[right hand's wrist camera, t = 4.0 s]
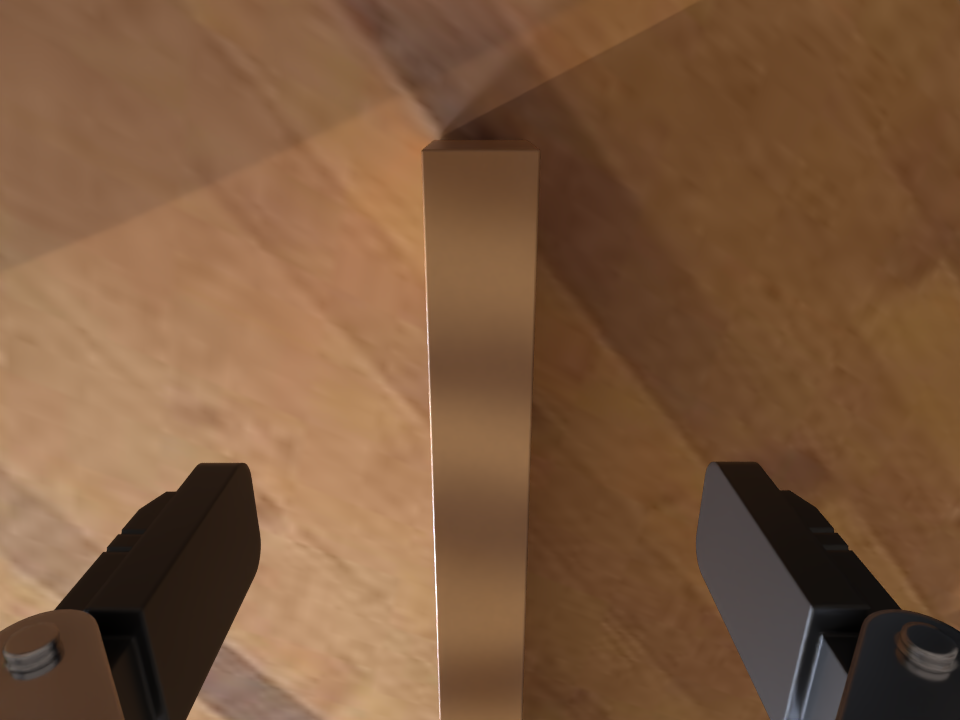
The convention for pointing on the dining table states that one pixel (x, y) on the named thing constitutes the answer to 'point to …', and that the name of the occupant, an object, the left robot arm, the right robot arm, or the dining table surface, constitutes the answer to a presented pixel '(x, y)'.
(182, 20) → the dining table surface
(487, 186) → the beam
